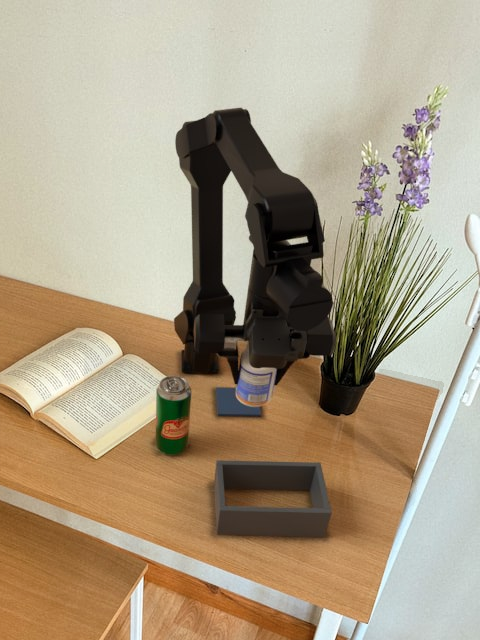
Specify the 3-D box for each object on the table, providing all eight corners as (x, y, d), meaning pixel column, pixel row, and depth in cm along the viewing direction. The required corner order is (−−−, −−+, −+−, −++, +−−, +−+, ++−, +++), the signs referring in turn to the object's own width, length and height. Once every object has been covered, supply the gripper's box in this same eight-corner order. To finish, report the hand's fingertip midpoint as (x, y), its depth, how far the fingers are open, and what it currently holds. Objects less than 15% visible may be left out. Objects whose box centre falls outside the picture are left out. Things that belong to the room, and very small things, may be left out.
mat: (215, 389, 118) (216, 387, 117) (257, 390, 117) (257, 388, 117) (217, 416, 113) (218, 413, 113) (261, 416, 113) (261, 414, 112)
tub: (213, 484, 102) (216, 460, 98) (314, 487, 101) (320, 462, 98) (216, 534, 95) (219, 510, 92) (324, 537, 94) (331, 513, 91)
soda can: (161, 460, 106) (162, 398, 97) (151, 439, 109) (152, 377, 101) (192, 453, 107) (196, 391, 98) (181, 432, 110) (185, 371, 102)
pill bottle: (247, 380, 105) (255, 326, 98) (278, 394, 103) (289, 339, 96) (227, 398, 103) (234, 343, 96) (259, 413, 100) (268, 358, 93)
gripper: (199, 321, 85) (191, 418, 96) (354, 324, 84) (328, 421, 95) (197, 274, 92) (190, 368, 104) (339, 276, 91) (317, 371, 103)
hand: (255, 383), depth 101 cm, fingers closed on pill bottle, 5 cm apart
